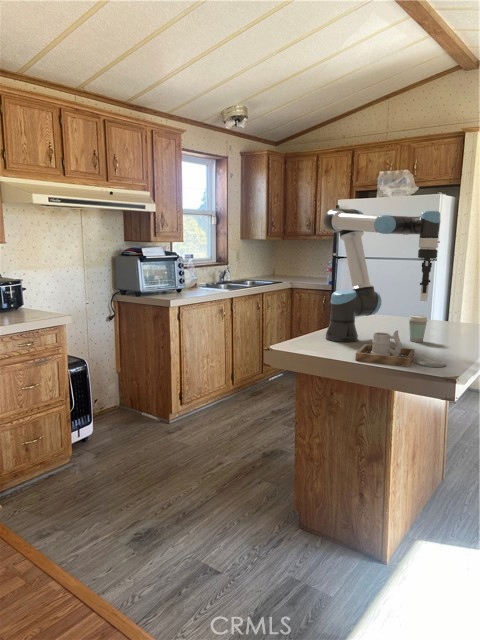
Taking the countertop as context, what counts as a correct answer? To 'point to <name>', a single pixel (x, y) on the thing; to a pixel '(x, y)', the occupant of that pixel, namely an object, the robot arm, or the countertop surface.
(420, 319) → the coffee cup
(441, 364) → the grey flat disc
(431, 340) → the countertop surface
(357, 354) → the walnut tray
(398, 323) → the countertop surface
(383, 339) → the mug
